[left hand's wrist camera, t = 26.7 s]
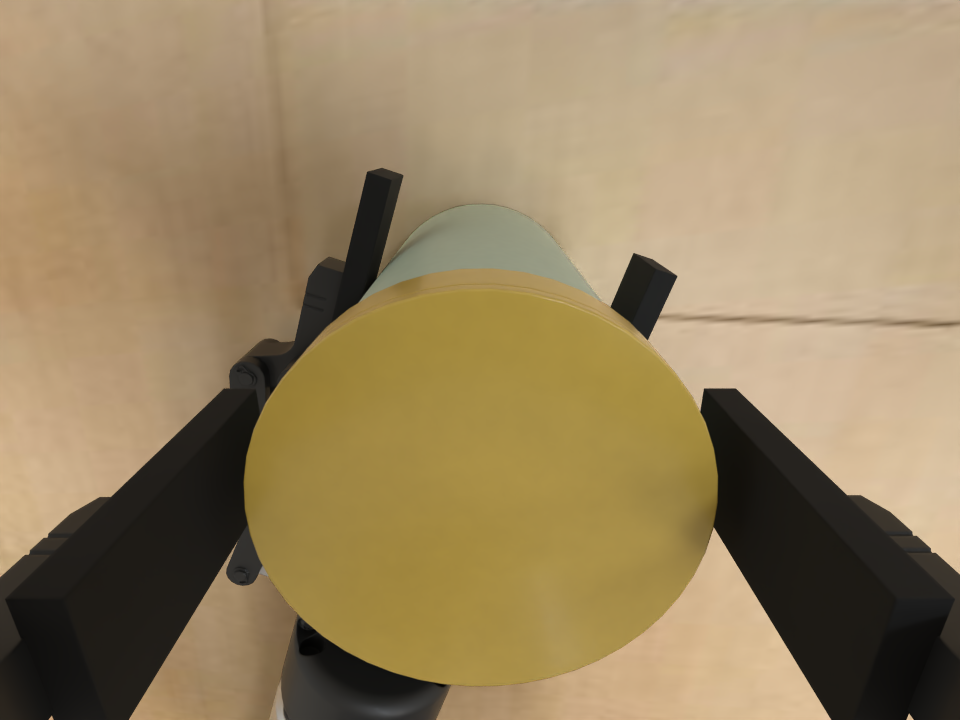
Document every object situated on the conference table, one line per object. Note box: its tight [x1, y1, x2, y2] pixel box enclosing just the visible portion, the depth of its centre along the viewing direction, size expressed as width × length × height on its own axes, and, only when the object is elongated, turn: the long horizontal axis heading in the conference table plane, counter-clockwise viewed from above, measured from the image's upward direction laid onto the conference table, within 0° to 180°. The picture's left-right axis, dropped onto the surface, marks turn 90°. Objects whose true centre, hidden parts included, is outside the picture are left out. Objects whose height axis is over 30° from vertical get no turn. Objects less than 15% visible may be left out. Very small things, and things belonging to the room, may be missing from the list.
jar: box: [359, 204, 602, 302], centre depth 19 cm, size 9×9×15 cm
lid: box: [244, 268, 718, 686], centre depth 11 cm, size 9×9×2 cm
